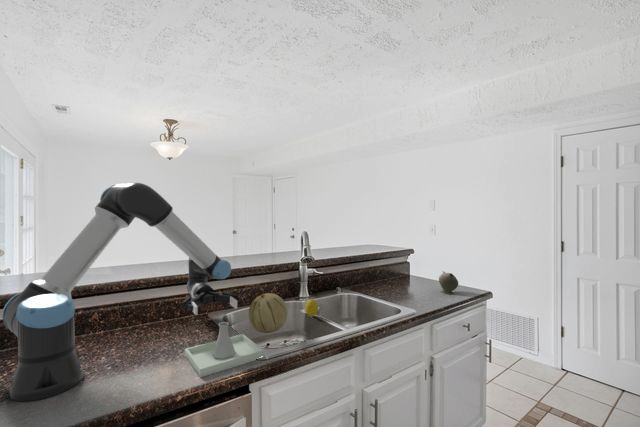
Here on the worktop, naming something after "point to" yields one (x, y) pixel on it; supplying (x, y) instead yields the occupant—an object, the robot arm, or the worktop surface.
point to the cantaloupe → (268, 313)
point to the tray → (208, 364)
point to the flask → (223, 343)
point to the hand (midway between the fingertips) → (216, 307)
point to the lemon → (311, 307)
